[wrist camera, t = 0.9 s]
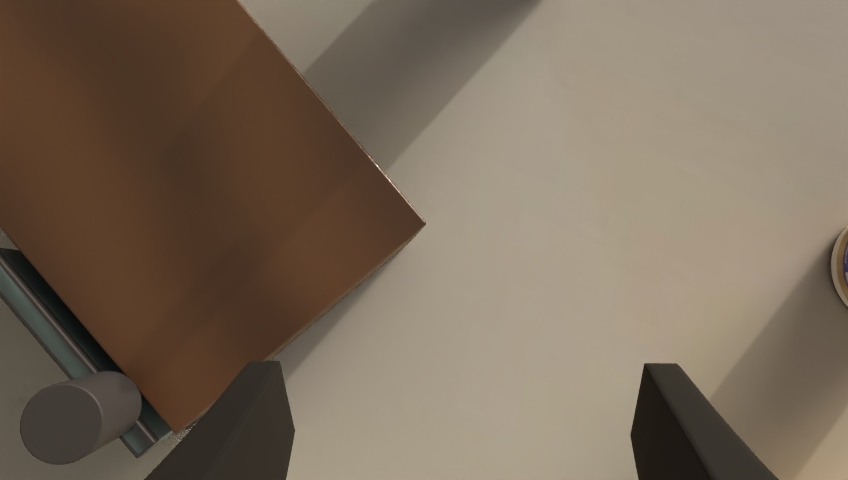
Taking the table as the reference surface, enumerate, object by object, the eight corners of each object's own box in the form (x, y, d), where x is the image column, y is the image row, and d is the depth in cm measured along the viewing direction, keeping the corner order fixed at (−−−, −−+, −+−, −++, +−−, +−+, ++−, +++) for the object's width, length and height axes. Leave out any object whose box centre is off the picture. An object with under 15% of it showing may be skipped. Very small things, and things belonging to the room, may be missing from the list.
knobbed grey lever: (176, 431, 25) (74, 507, 16) (48, 279, 25) (-128, 267, 16) (217, 397, 25) (140, 451, 16) (90, 247, 25) (-58, 216, 16)
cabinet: (189, 428, 26) (128, 474, 19) (-67, 126, 26) (-221, 62, 19) (409, 243, 28) (427, 223, 21) (168, -41, 28) (106, -156, 21)
